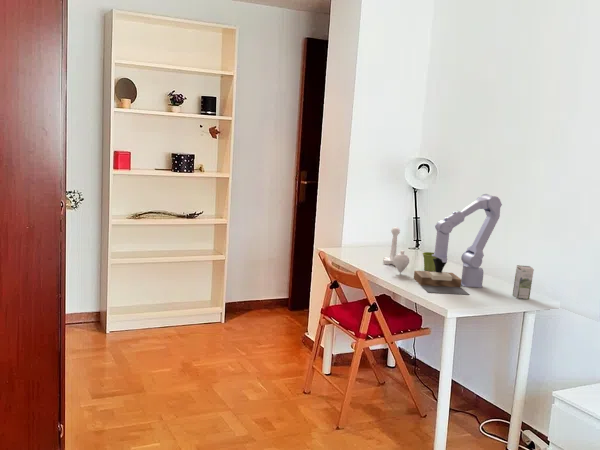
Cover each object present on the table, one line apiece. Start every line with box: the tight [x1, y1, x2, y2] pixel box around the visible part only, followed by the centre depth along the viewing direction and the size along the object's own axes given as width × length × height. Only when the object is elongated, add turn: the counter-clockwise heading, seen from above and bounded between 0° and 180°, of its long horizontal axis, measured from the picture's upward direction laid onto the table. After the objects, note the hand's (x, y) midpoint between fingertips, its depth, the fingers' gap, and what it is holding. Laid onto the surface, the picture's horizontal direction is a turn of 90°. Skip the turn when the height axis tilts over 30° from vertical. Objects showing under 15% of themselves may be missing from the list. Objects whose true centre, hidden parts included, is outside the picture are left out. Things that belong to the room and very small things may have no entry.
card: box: [429, 271, 452, 281], centre depth 290 cm, size 9×6×2 cm, turn 95°
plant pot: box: [422, 251, 437, 272], centre depth 323 cm, size 9×9×9 cm
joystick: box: [382, 226, 401, 266], centre depth 330 cm, size 11×8×20 cm
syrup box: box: [512, 264, 535, 300], centre depth 281 cm, size 6×6×14 cm
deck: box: [413, 270, 462, 288], centre depth 297 cm, size 19×13×4 cm
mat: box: [420, 285, 470, 296], centre depth 285 cm, size 19×12×1 cm, turn 95°
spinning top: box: [394, 250, 410, 275], centre depth 308 cm, size 8×8×12 cm
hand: (438, 274), depth 294 cm, fingers closed
